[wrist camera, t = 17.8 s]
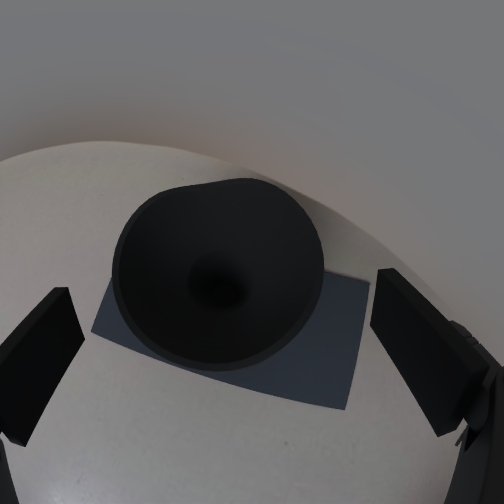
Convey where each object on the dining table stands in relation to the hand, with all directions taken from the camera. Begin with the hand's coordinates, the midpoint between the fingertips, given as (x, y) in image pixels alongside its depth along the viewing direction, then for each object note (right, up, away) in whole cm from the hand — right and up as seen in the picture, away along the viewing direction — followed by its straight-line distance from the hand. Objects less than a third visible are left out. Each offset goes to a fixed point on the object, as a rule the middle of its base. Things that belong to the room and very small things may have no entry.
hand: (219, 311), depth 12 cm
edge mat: (0, -2, +10) cm, 11 cm away
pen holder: (0, -2, +10) cm, 11 cm away
